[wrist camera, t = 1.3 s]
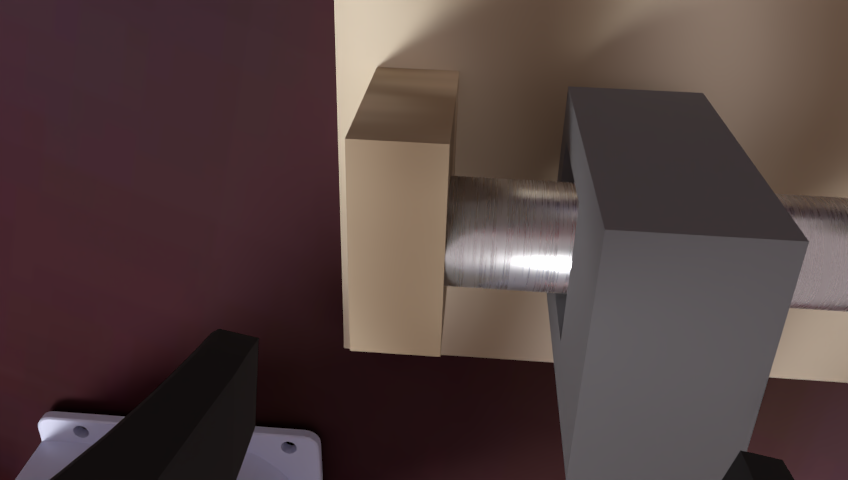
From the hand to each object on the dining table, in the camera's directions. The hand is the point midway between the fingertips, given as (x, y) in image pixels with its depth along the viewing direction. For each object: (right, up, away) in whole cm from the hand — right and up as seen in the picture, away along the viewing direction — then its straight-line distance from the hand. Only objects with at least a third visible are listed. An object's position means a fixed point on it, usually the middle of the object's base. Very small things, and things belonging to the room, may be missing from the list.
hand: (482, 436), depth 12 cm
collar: (+4, +4, +7) cm, 9 cm away
